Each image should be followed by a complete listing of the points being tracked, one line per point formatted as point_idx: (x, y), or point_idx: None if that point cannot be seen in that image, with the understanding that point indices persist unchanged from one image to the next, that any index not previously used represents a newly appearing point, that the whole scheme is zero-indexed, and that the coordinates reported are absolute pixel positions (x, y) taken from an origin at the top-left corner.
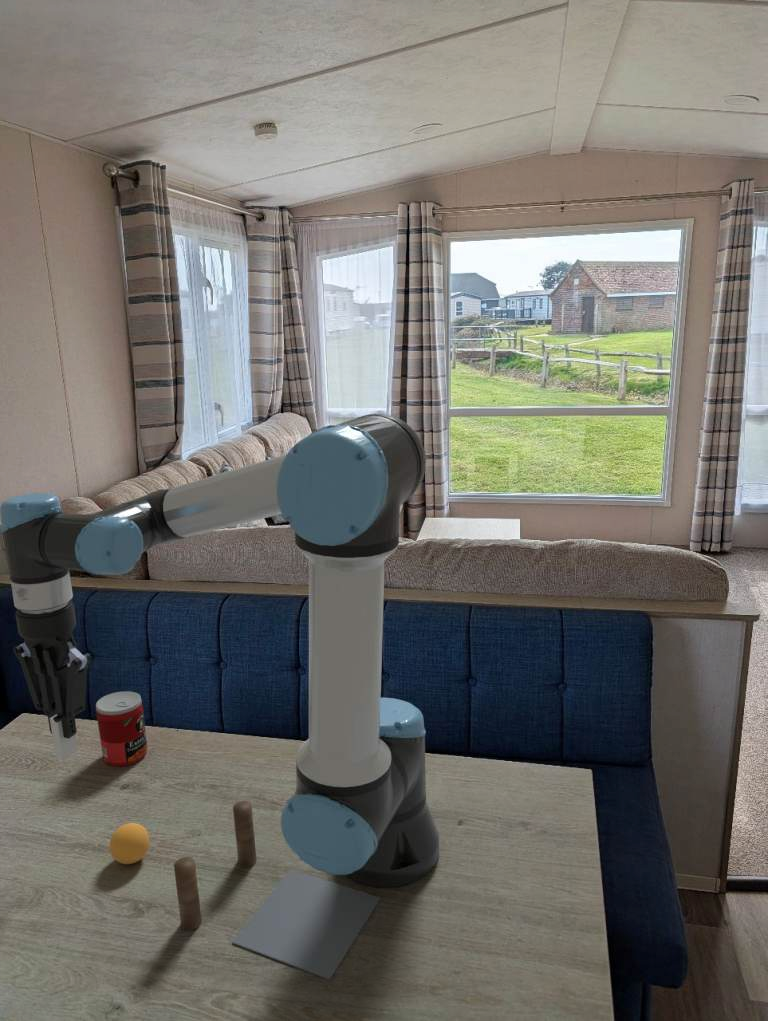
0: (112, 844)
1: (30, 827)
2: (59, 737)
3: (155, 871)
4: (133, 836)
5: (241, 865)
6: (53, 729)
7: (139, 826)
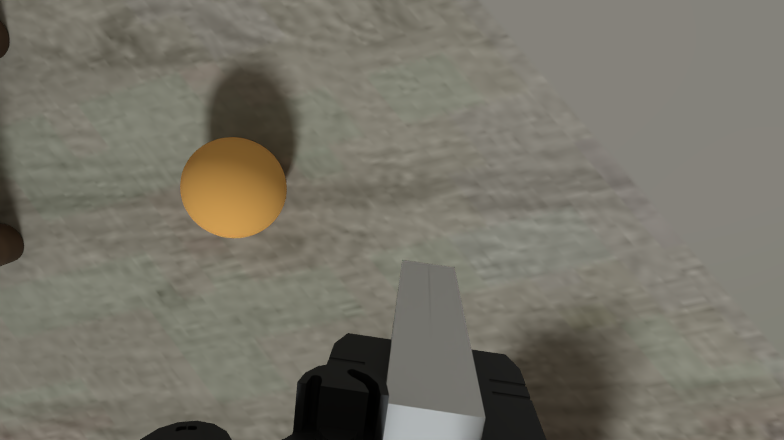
0: (246, 151)
1: (590, 218)
2: (398, 319)
3: (173, 159)
4: (187, 177)
5: (2, 224)
6: (448, 352)
7: (198, 218)
